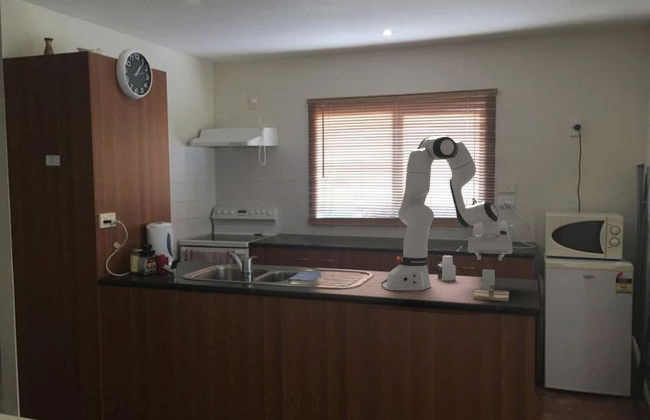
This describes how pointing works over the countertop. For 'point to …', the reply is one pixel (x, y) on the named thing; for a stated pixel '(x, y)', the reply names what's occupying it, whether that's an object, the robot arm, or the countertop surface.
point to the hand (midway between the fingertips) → (489, 259)
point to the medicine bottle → (446, 268)
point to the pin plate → (494, 298)
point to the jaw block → (487, 278)
